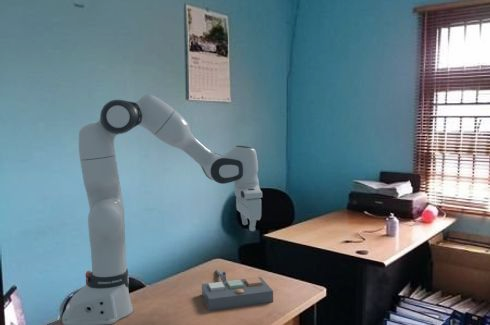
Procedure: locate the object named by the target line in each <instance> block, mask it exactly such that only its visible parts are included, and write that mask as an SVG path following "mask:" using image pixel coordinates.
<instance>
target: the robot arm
mask: <svg viewBox="0 0 490 325" xmlns="http://www.w3.org/2000/svg"><path fill="white" fill-rule="evenodd" d="M99 116H100V117H99V120H98V121H97V122H93V123H87V124H86V125H84V126H83V127H81V128H80V130H79V131H78V153H79V154H78V155H79V160H80V168H81V172H82V173H81V174H82V179H83V185H84V189H85V192H86V197H87V200H88V206H89V213H88V216H87V225H88V235H89V246H90V251H91V252H90V254H91V255H90V256H91V270H87V271H86V272H85V285H84V286H83V287H81V288H80V289H79V290H78V291H77V292H75V293H74V294H73V296H72V297H71V299H70V302H69V304H68V305H69V306H68V308H67V309H65V310H64V312H63V314H62V316H61V323H62V325H113V324H114V323H116V322H117V321H119V320H121V319H124V318H126V317H127V316H129V315H130V314H131V313H132V312H133V311H134V307H133V304H132V300H131V296H130V292H129V283H130V282H129V281H130V279H129V278H130V277H129V271H128V270H129V269H128V268H127V250H126V249H127V248H126V232H125V229H126V227H125V224H126V223H125V206H124V200H123V194H122V190H121V189H122V188H121V187H122V186H121V182H120V177H119V176H120V175H119V171H118V169H119V168H118V165H117V164H118V163H117V157H116V150H115V138H116V137H117V136H118V135H120V134H121V135H123V134H126V133H128V132H129V131H131V130H132V129H134V128H135V127H138V126H140V127H142V128H144V129H146V130H147V131H149V133H151V134H152V135H153V136H155V137H156V138H158V139H159V140H160V141H162V142H163V143H164V144H167V145H169V146H171V147H174V148H177V149H179V150H181V151H182V152H184V153H185V154H187V155H188V156H189V157H190V158H191V159H193V161H195V162H196V163H197V164H199V166H200V167H201V169H202V171H203V174H204V175H205V177H207V178H208V179H210V180H211V181H213V182H216V183H218V184H221V185H225V184H229V183H232V182H234V183H233V184H234V196H235V197H236V198H235V201H236V203H235V207H236V211H238V212H239V213H240V218H241V222H242V223H241V224H242V225H243V226H247V225H248V224H249V225H248V229H249V231H250V232H255V231H256V225H257V224H256V223H257V221H260V220H261V218H262V199H261V198H263V191H262V190H261V188H260V181H259V178H258V172H259V162H258V156H257V151H256V149H255V148H254V147H252V146H247V145H246V146H245V145H235V146H234V147H233V148H232V149H231V150H229V151H227V152H226V153H224V154H220V153H216V152H214V151H211V150H209V149H208V147H206V146H205V145H203V144H202V143H201V142H200V141H199V140H198V139H197V138H196V137H195V136H194V135H193V133H192V132H191V127H190V124H189V122H188V121H187V120H186V119H185V118H184V117H183V116H182V115H181V114H180V113H179V111H177V110H176V109H174V108H173V107H172V106H171V105H169V104H168V103H166V102H165V101H163V100H162V99H161V98H159V97H157V96H156V95H153V94H146V95H143V96H141V97H140V98H139V99H137V101H136V102H134V101H127V100H124V99H113V100H112V99H111V100H110V101H107V103H105V105H103V107H102V109H101V110H100V115H99ZM248 220H249V222H248Z"/></svg>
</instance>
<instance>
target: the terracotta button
mask: <svg viewBox="0 0 490 325" xmlns="http://www.w3.org/2000/svg"><path fill="white" fill-rule="evenodd" d="M244 279H245V283H246V285H247V286H248V287H252V286H260V285H262V282H261V281H260V279H259V278H258V277H250V278H244Z"/></svg>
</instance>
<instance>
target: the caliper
mask: <svg viewBox="0 0 490 325" xmlns="http://www.w3.org/2000/svg"><path fill="white" fill-rule="evenodd" d="M215 272H216V274H217V275H218V276H219V277H220V281H221V282H224V281H227V274H226V272H225V271H221V270H220V269H219V268H217V269H215Z"/></svg>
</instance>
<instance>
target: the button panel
mask: <svg viewBox="0 0 490 325" xmlns="http://www.w3.org/2000/svg"><path fill="white" fill-rule="evenodd" d="M258 278H259V279H260V281H261V282H262V285H260V286H252V287H248V286H247V285H246V283H245V279H246V278H241V279H240V280H241V282H242V283H243V284H244V288H236V289H229V288H228V286H227V281H228V280H226V281H224V282H222V281H221V282H222V283H223V285H224V286H225V290H220V291H212V292H210V290H209V288H208V283H207V282H206V283H201V296H202V298H203V299H204V302H205V304H206V307H207V309H208V311H216V310H223V309H230V308H237V307H244V306H250V305H251V306H253V305H260V304H266V303H267V304H268V303H273V302H274V290H273V289H272V287H270V285H268V283H267V282H266V281H265V280H264V279H263V278H262V277H261V276H259V277H258Z"/></svg>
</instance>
